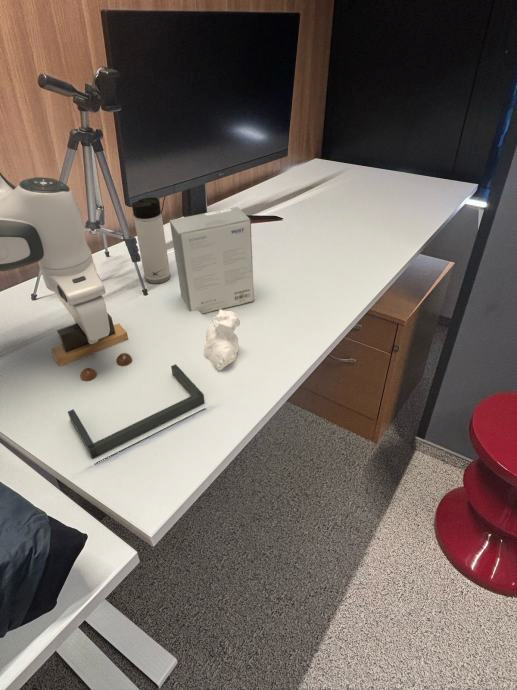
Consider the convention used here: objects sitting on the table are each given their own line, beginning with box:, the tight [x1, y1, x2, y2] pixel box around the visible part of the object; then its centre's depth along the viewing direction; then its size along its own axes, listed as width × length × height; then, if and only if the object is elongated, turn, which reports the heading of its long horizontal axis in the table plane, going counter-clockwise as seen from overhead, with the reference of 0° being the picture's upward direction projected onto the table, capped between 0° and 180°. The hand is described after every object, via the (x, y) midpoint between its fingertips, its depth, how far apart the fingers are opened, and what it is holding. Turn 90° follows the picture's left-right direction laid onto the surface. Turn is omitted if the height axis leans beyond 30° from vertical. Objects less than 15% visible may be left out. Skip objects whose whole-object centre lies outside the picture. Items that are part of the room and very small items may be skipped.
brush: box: [50, 312, 129, 367], centre depth 94 cm, size 14×4×7 cm, turn 126°
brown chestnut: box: [79, 367, 98, 382], centre depth 89 cm, size 3×3×3 cm
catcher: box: [67, 363, 206, 465], centre depth 81 cm, size 20×10×4 cm, turn 126°
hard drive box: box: [168, 206, 255, 315], centre depth 104 cm, size 16×8×20 cm, turn 113°
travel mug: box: [131, 197, 171, 285], centre depth 113 cm, size 6×7×20 cm
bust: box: [203, 309, 241, 372], centre depth 92 cm, size 12×8×11 cm
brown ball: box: [115, 352, 133, 367], centre depth 92 cm, size 3×3×3 cm
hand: (87, 334), depth 93 cm, fingers open, 4 cm apart
